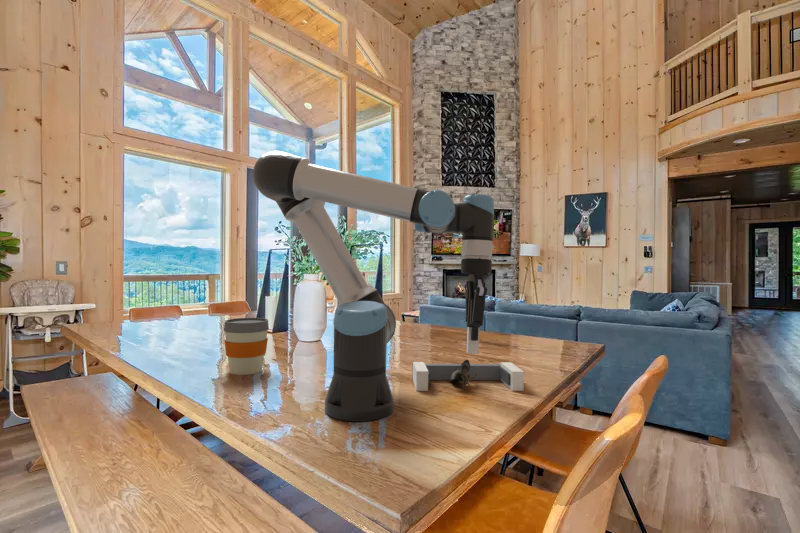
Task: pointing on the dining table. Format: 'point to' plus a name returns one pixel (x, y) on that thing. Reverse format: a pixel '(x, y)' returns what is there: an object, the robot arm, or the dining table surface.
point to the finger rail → (502, 372)
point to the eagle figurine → (463, 374)
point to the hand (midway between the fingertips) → (472, 352)
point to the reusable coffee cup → (245, 344)
